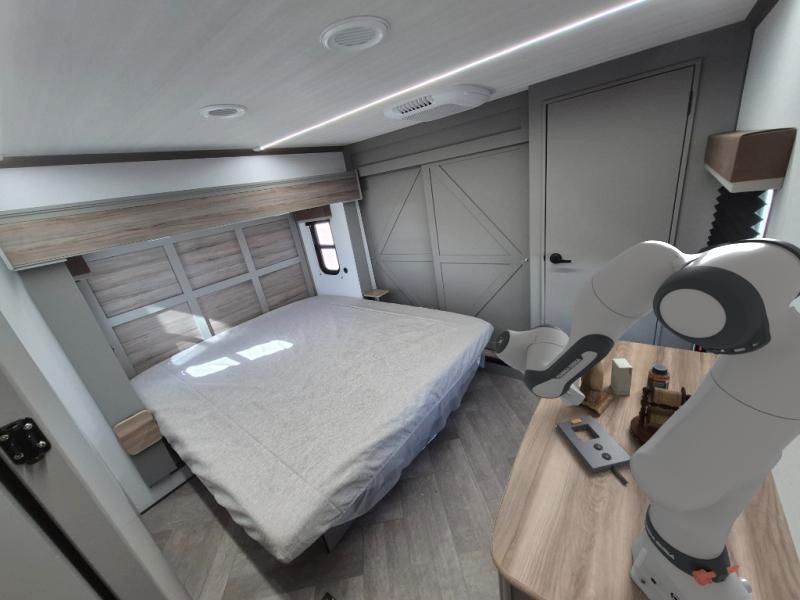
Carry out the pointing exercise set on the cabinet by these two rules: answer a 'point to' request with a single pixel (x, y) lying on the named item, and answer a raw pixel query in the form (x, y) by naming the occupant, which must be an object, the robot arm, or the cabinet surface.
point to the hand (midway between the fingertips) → (571, 386)
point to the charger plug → (567, 400)
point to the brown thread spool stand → (656, 411)
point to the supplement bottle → (658, 377)
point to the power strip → (595, 446)
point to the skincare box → (621, 376)
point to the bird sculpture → (595, 389)
